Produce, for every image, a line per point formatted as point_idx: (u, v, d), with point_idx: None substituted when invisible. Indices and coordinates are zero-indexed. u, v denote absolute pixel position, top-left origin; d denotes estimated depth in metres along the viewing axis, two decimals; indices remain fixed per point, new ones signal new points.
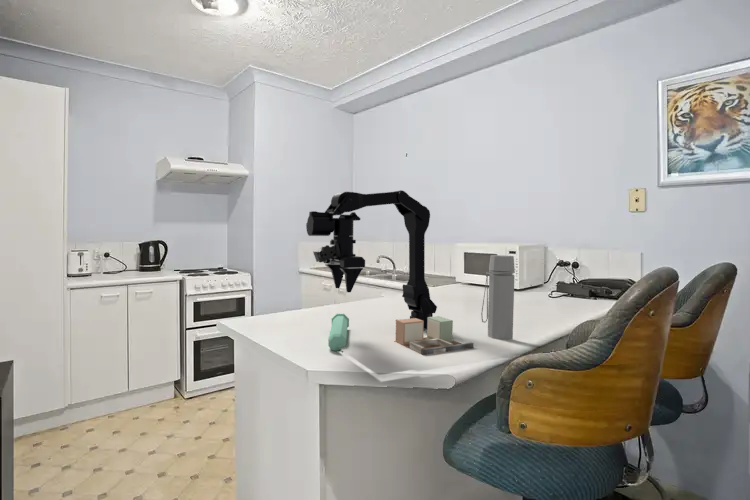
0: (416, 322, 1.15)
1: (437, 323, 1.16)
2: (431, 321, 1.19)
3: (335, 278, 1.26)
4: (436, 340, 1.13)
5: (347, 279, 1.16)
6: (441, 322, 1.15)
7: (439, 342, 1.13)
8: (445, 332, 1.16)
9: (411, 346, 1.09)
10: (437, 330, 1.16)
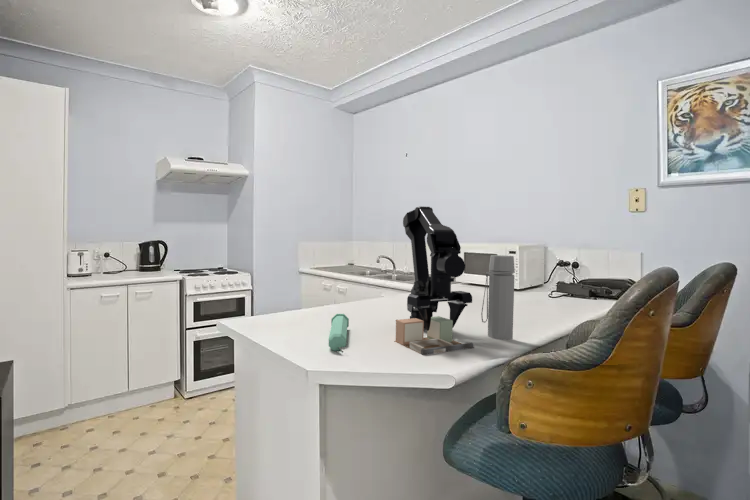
0: (416, 322, 1.15)
1: (437, 323, 1.16)
2: (431, 321, 1.19)
3: (450, 317, 1.21)
4: (436, 340, 1.13)
5: (421, 316, 1.17)
6: (441, 322, 1.15)
7: (439, 342, 1.13)
8: (445, 332, 1.16)
9: (411, 346, 1.09)
10: (437, 330, 1.16)
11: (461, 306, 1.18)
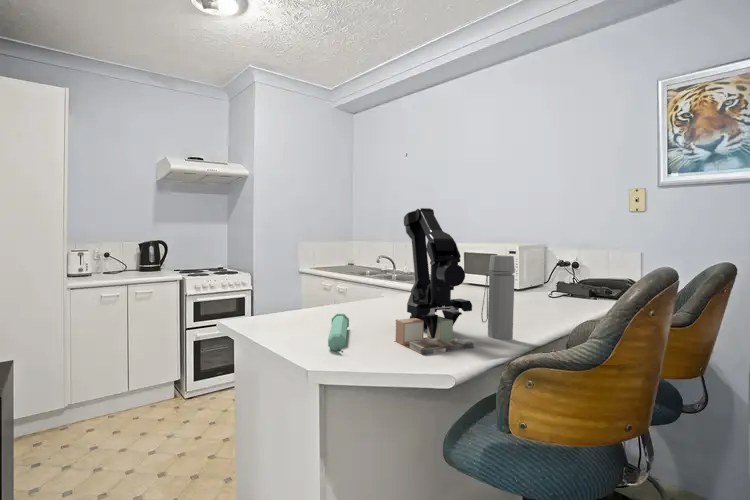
0: (416, 322, 1.15)
1: (437, 323, 1.16)
2: None
3: None
4: (436, 340, 1.13)
5: (427, 324, 1.18)
6: (441, 322, 1.15)
7: (439, 342, 1.13)
8: (445, 332, 1.16)
9: (411, 346, 1.09)
10: (437, 330, 1.16)
11: (455, 315, 1.18)
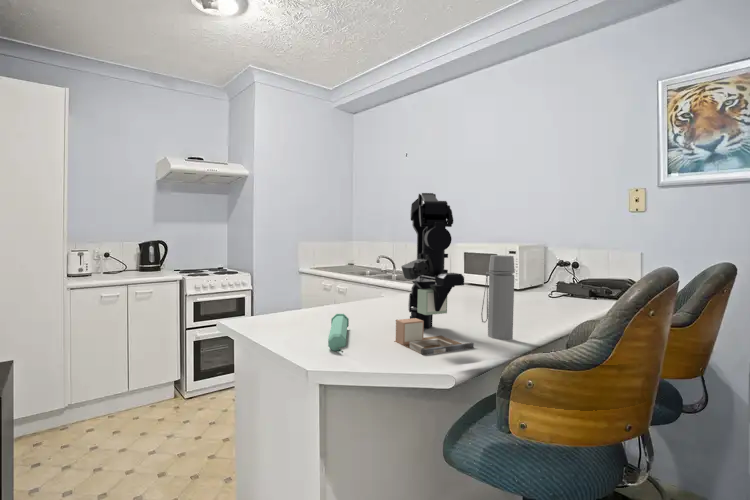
0: (416, 322, 1.15)
1: None
2: None
3: None
4: (436, 340, 1.13)
5: (437, 297, 1.05)
6: None
7: (439, 342, 1.13)
8: None
9: (411, 346, 1.09)
10: None
11: None
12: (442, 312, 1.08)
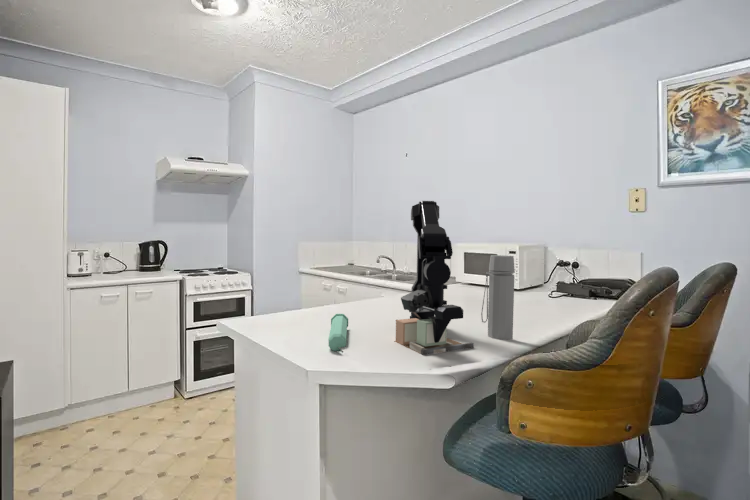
0: (416, 322, 1.15)
1: None
2: None
3: None
4: None
5: (436, 329, 1.06)
6: None
7: None
8: None
9: (411, 346, 1.09)
10: None
11: None
12: (441, 343, 1.09)
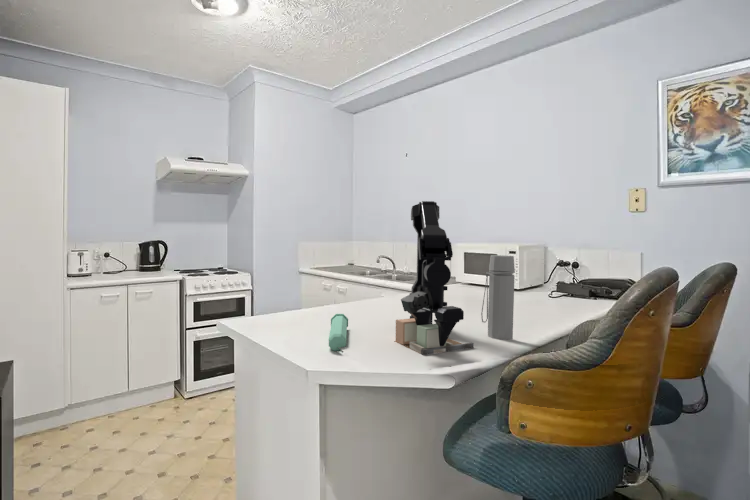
0: None
1: None
2: (433, 331, 1.07)
3: None
4: None
5: (442, 332, 1.04)
6: None
7: None
8: None
9: (411, 346, 1.09)
10: None
11: None
12: None
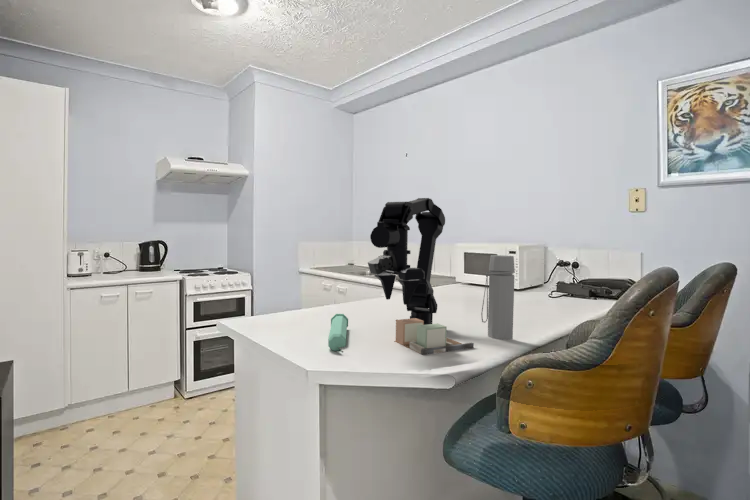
0: (416, 322, 1.15)
1: (442, 330, 1.08)
2: (433, 331, 1.07)
3: (386, 289, 1.22)
4: None
5: (405, 291, 1.13)
6: None
7: None
8: None
9: (411, 346, 1.09)
10: (442, 337, 1.08)
11: None
12: None
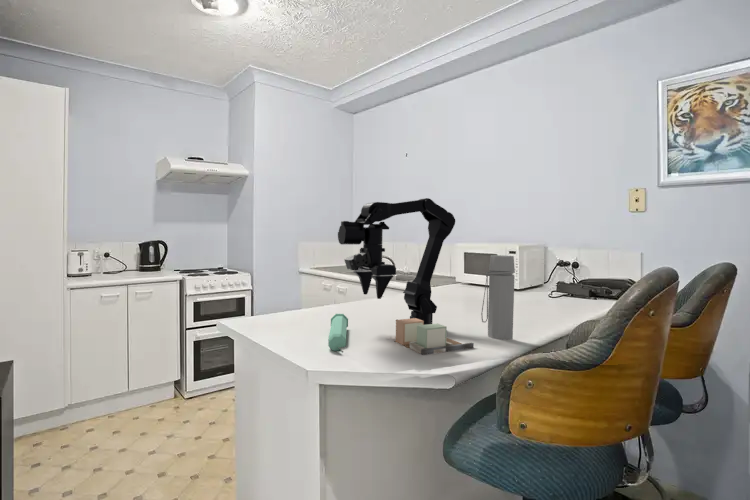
0: (416, 322, 1.15)
1: (442, 330, 1.08)
2: (433, 331, 1.07)
3: (363, 285, 1.30)
4: None
5: (378, 286, 1.21)
6: None
7: None
8: None
9: (411, 346, 1.09)
10: (442, 337, 1.08)
11: None
12: None
